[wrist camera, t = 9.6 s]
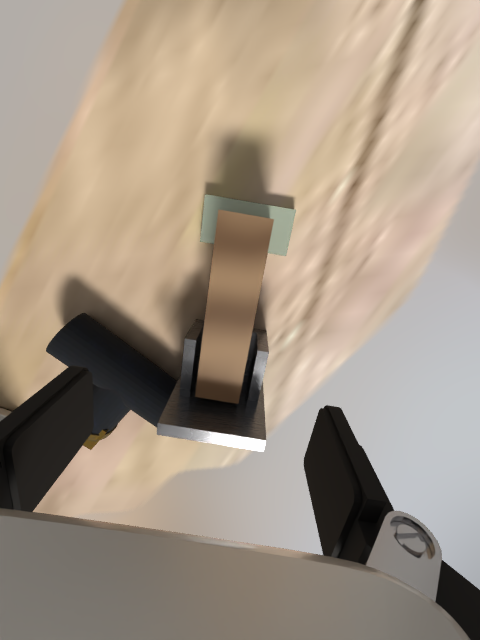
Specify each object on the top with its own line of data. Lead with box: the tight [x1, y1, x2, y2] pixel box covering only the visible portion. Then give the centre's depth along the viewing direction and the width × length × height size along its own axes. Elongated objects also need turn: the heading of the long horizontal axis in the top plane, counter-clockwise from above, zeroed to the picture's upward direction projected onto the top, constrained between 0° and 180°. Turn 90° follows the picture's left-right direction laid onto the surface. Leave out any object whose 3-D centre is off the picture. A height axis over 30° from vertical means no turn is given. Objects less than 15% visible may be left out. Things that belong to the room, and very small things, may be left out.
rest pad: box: [200, 194, 296, 256], centre depth 25 cm, size 4×8×1 cm, turn 81°
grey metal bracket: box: [157, 319, 269, 452], centre depth 26 cm, size 7×9×9 cm
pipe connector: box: [46, 313, 177, 450], centre depth 30 cm, size 12×5×15 cm
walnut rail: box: [195, 210, 274, 404], centre depth 24 cm, size 16×4×5 cm, turn 171°
